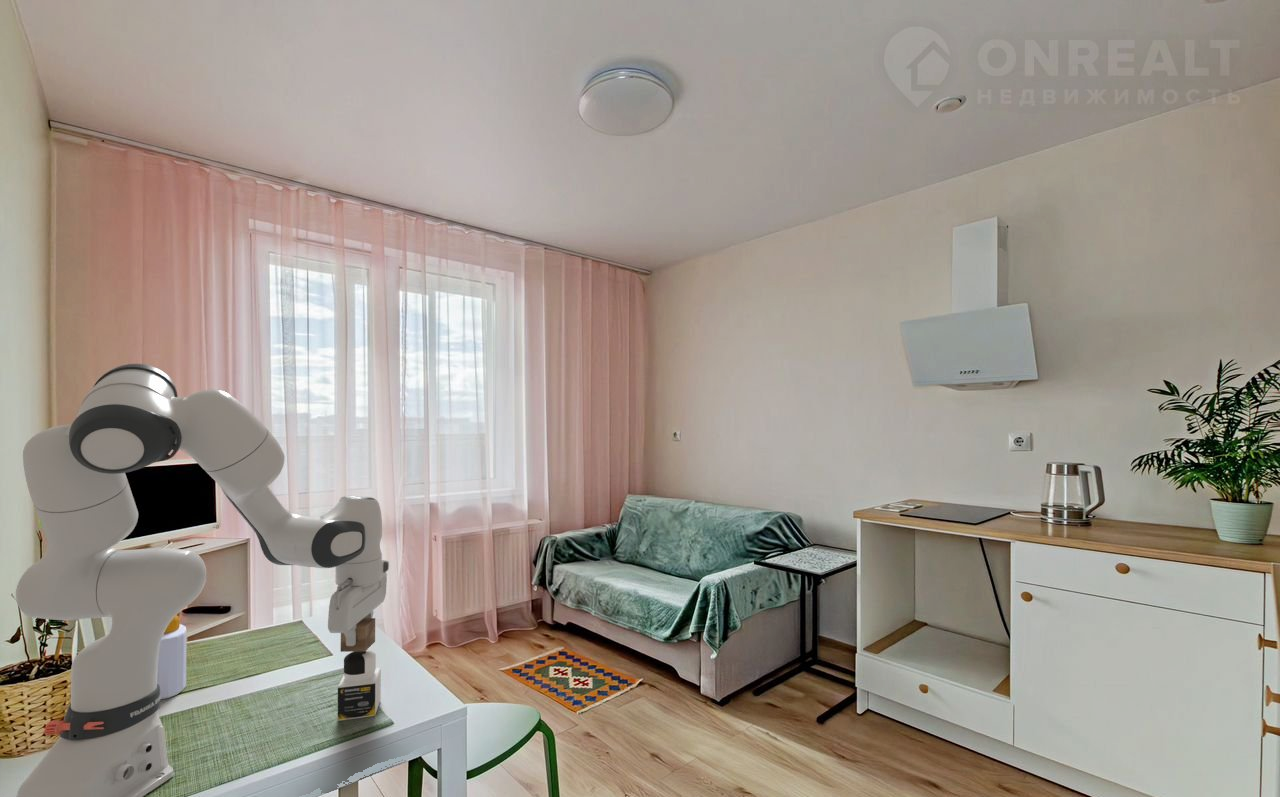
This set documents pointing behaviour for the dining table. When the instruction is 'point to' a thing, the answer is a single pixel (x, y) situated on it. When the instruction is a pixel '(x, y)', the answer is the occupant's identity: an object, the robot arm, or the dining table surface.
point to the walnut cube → (361, 636)
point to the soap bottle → (172, 659)
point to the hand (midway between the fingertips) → (358, 638)
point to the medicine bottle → (359, 686)
